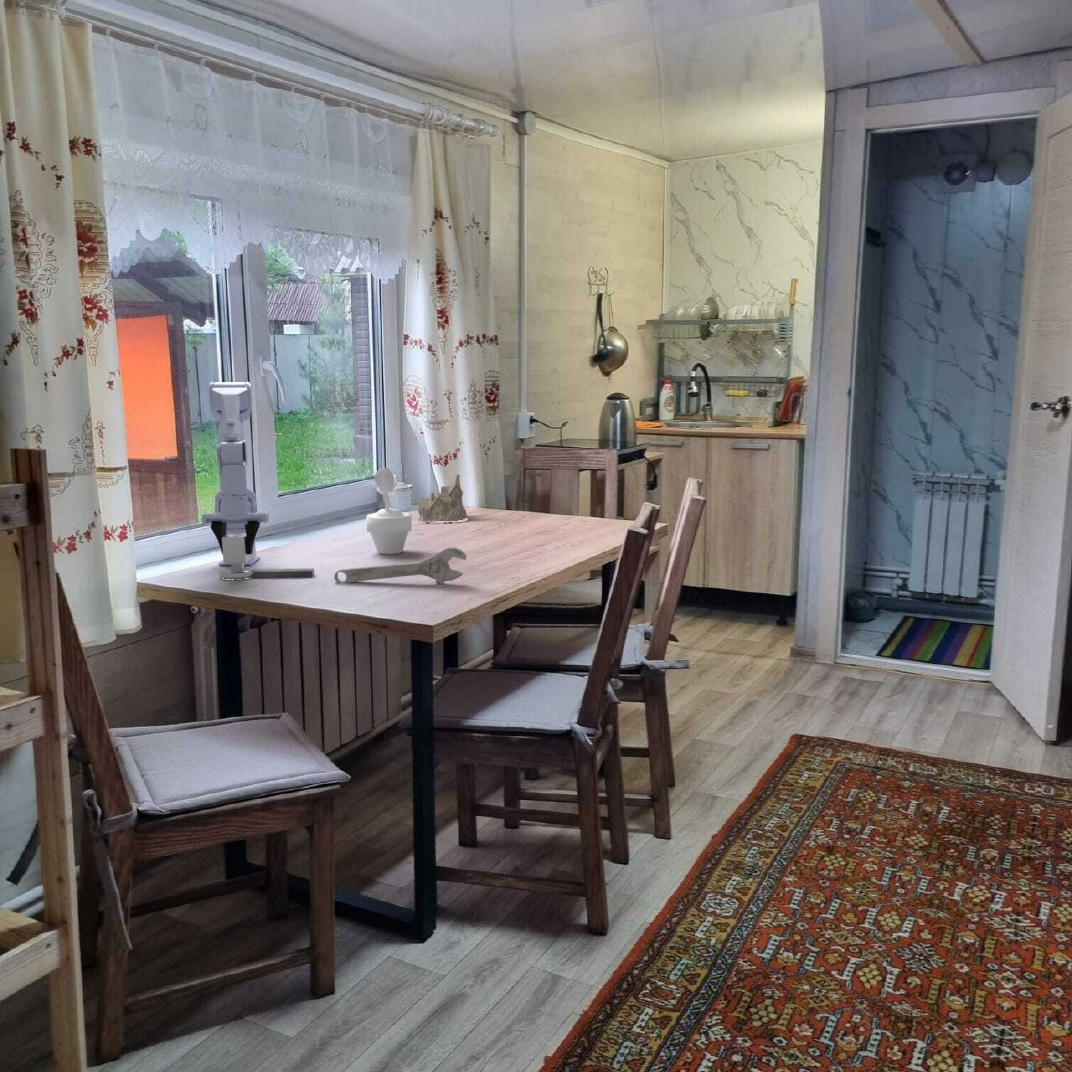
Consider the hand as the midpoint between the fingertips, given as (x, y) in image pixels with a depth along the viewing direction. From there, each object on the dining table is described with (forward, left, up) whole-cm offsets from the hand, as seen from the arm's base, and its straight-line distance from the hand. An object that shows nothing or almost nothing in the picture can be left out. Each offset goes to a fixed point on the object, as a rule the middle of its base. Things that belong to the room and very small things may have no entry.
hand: (237, 553), depth 231 cm
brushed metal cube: (0, 0, -2) cm, 2 cm away
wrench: (+9, +38, -6) cm, 39 cm away
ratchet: (0, +6, -5) cm, 8 cm away
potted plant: (-29, +32, -6) cm, 44 cm away
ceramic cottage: (-84, +43, -6) cm, 95 cm away
